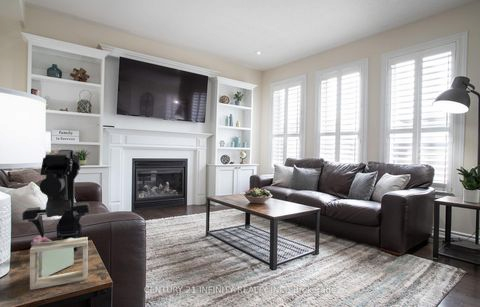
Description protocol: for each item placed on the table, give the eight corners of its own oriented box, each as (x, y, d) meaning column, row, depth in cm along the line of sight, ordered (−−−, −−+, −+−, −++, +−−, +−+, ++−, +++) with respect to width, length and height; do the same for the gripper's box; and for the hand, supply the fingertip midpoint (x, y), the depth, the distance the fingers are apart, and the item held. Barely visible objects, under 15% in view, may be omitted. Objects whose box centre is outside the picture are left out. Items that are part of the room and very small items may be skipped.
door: (35, 277, 92) (35, 248, 92) (68, 262, 104) (68, 237, 103) (41, 278, 91) (41, 249, 91) (73, 263, 103) (73, 238, 103)
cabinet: (34, 281, 90) (33, 243, 90) (87, 272, 97) (87, 236, 97) (30, 289, 85) (29, 249, 85) (86, 279, 92) (86, 242, 92)
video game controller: (43, 248, 123) (35, 235, 121) (53, 243, 124) (45, 230, 123) (35, 257, 113) (26, 243, 112) (47, 251, 115) (38, 237, 114)
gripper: (16, 197, 81) (18, 248, 82) (87, 191, 90) (89, 237, 90) (25, 191, 91) (27, 237, 91) (88, 187, 100) (90, 228, 100)
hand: (59, 235), depth 93 cm, fingers open, 9 cm apart
